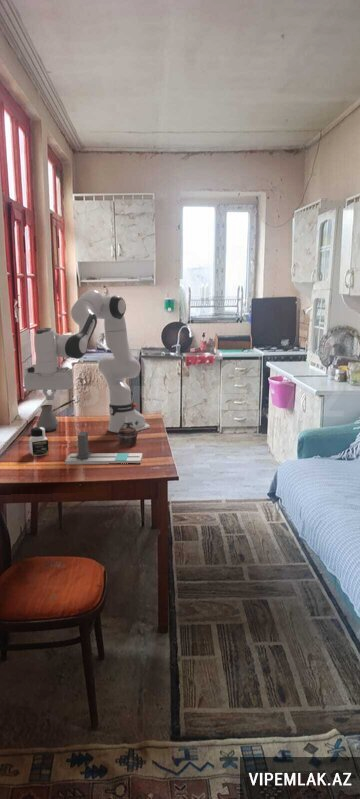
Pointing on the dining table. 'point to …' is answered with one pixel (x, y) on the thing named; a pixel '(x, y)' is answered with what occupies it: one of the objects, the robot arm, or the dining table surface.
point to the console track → (106, 458)
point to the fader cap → (83, 446)
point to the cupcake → (127, 434)
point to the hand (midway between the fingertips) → (50, 400)
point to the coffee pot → (49, 417)
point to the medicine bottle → (38, 442)
